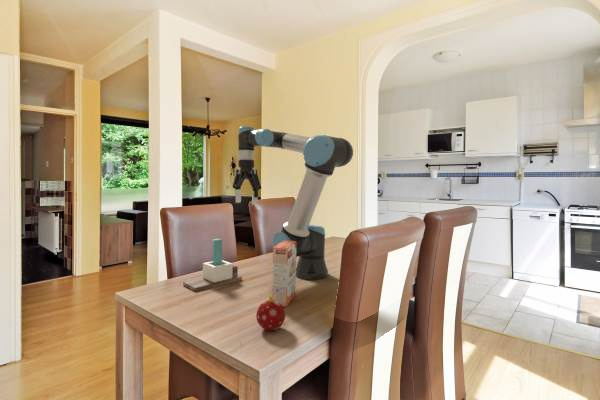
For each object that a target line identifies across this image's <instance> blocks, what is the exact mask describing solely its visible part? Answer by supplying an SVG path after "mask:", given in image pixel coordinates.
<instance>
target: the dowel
mask: <svg viewBox="0 0 600 400" xmlns="http://www.w3.org/2000/svg"><path fill="white" fill-rule="evenodd" d="M222 260H223V239H222V238H213V239H212V261H213V265H214V266H217V265H222Z"/></svg>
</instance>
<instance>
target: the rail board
mask: <svg viewBox="0 0 600 400" xmlns="http://www.w3.org/2000/svg"><path fill="white" fill-rule="evenodd" d="M238 269H239V267H238V266H237V265H235V264H233V278H231V279H227V280H222V281H218V282H212V281H209V280H207V279H205V278H203V277H199V278H195V279H190V280H186V281H183V284H182V285H183V286H184V287H185V288H187V289H189V290H191V291H192V292H194V293H196V292H201V291H204V290H207V289H212V288H215V286H216V287H220V286H223V284H224V285H227V284H232V283H236V282H239V281H242V280H243V276H241V275H239V274H238V273H239V272H238ZM219 285H220V286H219ZM211 287H212V288H211Z"/></svg>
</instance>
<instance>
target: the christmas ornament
mask: <svg viewBox="0 0 600 400" xmlns="http://www.w3.org/2000/svg"><path fill="white" fill-rule="evenodd" d="M255 316H256V321H257V323H258V325H259V326H260V327H261V328H262V329H263V330H266V331H275V330H277V329H279V328H280V327H282V326H283V324H284V322H285V320H286V310H285V307H283V306H282V305H281V304H280V303H279V302H277V301H275V300H273V297H272V295H269V297H268V299H267V300H265V301H263V302H262V303H260V305H259V306H258V308H257V310H256V315H255Z"/></svg>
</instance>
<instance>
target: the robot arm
mask: <svg viewBox="0 0 600 400" xmlns="http://www.w3.org/2000/svg"><path fill="white" fill-rule="evenodd" d="M237 137H238V139H237V140H238V152H237V153H238V157H237V158H238V161H237V162H238V168H240V169H236V171H235V177H234V181H233V184H232V189H234V192H235V203H236V204H240V203H241V202H242V189H241V187H242V186H243V185H244V184H243V183H244V181H245V180H247V181H248V182H249V184H250V186H251V188H252V189H251V205H258V204H259V203H258V202H259V190H262V186H261V182H260V179H259V175H258V169H254V168H255V160H254V159H255V147H265V148H266V147H267V148H275V149H277V148H278V149H283V150H286V151H287V150H288V151H291V152H292V151H293V152H297V153H300V154H302V155H303V159H304V162H305V163H304V167H305V169H306V171H305V174H304V177H303V179H302V183H301V185H300V188H299V190H298V193H297V197H296V199H295V202H294V205H293V207H292V210H291V213H290V216H289V219H288V220H287V221H286V222H284V223H283V225H282V228H281V230H280V231H277V232H276V233H274V235H273V237H272V248H273V247H275V246H276V245H278V244H279V243H280V242H282V241H296V242H297V246H296V258H297V257H298V261H297V262H296V278H297V277H298V278H300V279H304V280H322V279H325V278H327V277H328V276H329V269H328V267H327V264H326V261H325V260H326V259H325V253H326V252H325V249H326V247H325V245H326V242H325V241H326V239H325V238H326V231H325V227H324V226H320V225H315V224H314V225H313V224H310V223H311V222H312V218H313V216H314V213H315V210H316V207H317V205H318V202H319V199H320V197H321V194H322V192H323V189H324V187H325V184H326V182H327V179H328V178H329V177H331V176H332V175H334V171H335V168H341V167H345V166H346V165H348V164H349V163H350V162H351V160H353V159H352V158H353V156H354V149H353V146H352V144H351V142H349V140H347V139H345V138H341V137H335V136H330V135H325V134H322V135H320V134H319V135H314V136H312V137H310V136H305V135H297V134H292V133H287V132H280V131H274V130H273V131H272V130H270V129H269V128H260V129H255V128H254V127H253V126H246V125H245V126H240V127H239V128H238V133H237Z"/></svg>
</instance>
